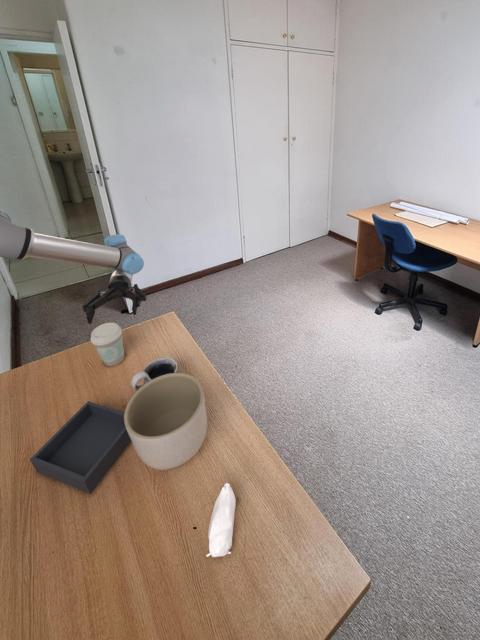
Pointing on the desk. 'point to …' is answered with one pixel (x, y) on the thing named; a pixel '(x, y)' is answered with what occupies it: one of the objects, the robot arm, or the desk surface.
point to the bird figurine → (222, 523)
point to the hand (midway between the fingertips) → (111, 316)
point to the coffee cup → (108, 343)
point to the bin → (84, 447)
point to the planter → (167, 420)
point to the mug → (155, 371)
